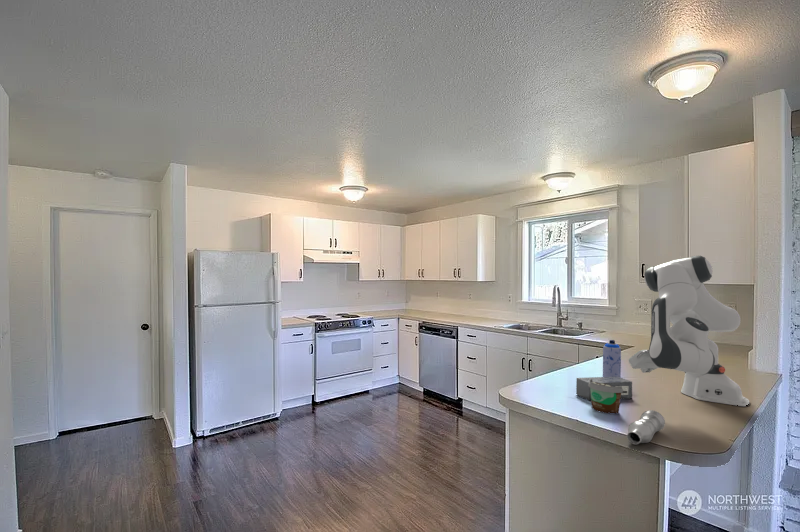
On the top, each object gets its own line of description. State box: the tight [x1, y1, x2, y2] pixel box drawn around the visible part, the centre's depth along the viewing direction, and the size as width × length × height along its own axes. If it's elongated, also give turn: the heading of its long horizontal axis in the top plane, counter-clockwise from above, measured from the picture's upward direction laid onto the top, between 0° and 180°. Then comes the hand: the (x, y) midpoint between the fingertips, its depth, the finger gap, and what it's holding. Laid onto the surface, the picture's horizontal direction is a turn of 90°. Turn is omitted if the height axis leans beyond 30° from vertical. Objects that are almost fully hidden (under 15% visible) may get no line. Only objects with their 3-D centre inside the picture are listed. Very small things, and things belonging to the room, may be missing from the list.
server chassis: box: [575, 376, 633, 402], centre depth 162 cm, size 20×8×7 cm, turn 102°
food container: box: [588, 379, 623, 414], centre depth 146 cm, size 12×6×10 cm, turn 34°
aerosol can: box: [602, 339, 622, 378], centre depth 184 cm, size 8×8×20 cm
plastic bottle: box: [626, 409, 666, 445], centre depth 122 cm, size 6×7×20 cm
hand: (644, 370), depth 149 cm, fingers closed
